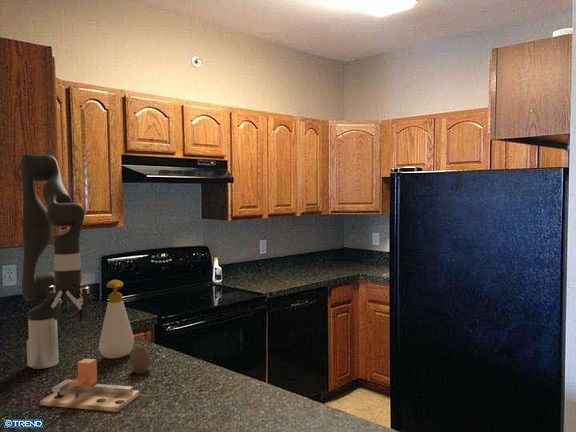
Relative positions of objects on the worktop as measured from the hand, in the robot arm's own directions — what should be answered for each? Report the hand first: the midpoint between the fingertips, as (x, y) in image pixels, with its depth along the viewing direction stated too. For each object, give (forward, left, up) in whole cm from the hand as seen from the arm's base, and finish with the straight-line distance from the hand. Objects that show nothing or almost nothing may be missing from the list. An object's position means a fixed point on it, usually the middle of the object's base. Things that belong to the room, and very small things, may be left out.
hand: (69, 320), depth 151 cm
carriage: (+7, -4, -21) cm, 22 cm away
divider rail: (+10, -4, -21) cm, 24 cm away
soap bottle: (-3, +31, -23) cm, 39 cm away
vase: (+13, +19, -23) cm, 32 cm away
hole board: (+10, -5, -22) cm, 25 cm away
